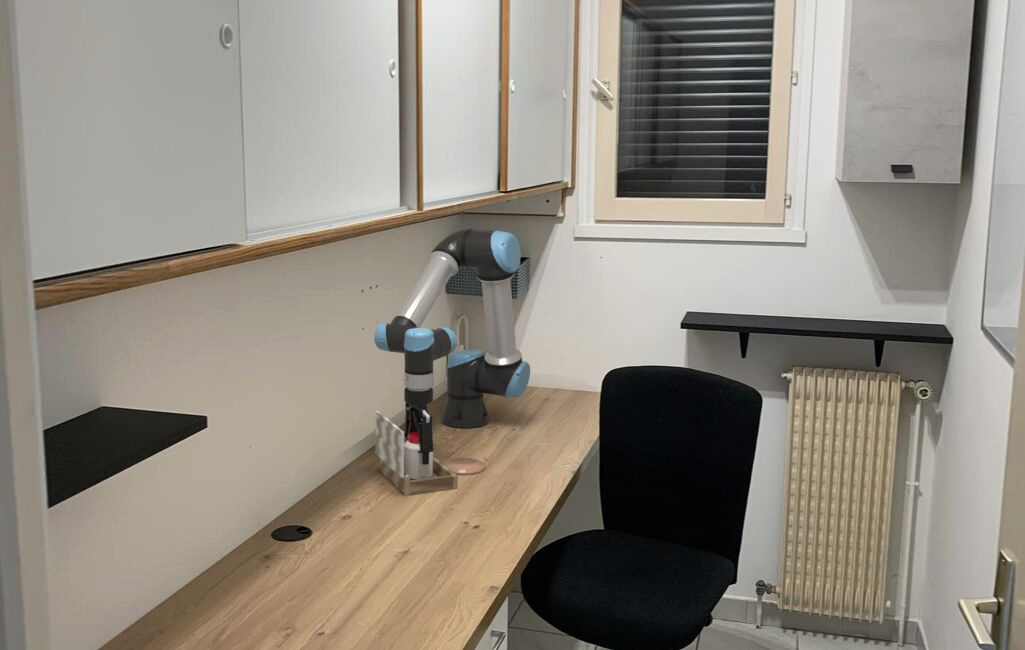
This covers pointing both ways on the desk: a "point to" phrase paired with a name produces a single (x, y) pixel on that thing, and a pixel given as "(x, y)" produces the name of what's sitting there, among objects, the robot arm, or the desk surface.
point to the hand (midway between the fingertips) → (418, 469)
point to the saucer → (464, 466)
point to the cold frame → (393, 462)
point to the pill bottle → (414, 457)
